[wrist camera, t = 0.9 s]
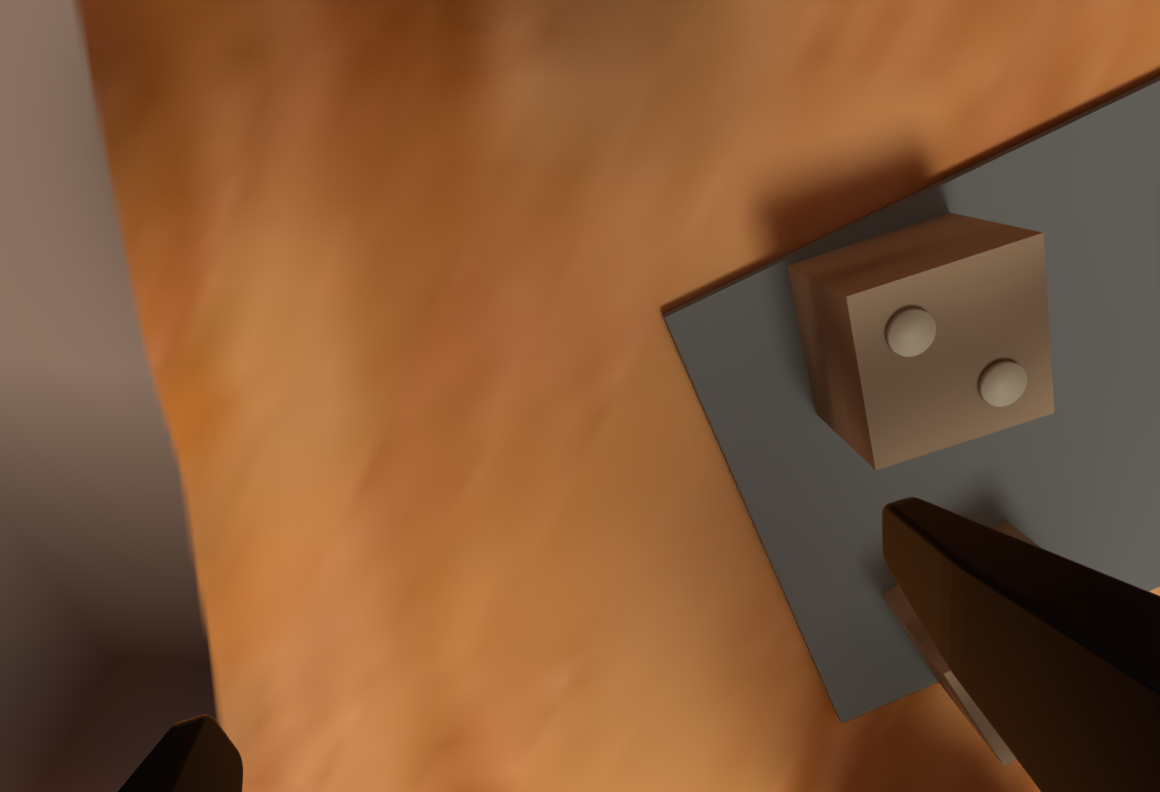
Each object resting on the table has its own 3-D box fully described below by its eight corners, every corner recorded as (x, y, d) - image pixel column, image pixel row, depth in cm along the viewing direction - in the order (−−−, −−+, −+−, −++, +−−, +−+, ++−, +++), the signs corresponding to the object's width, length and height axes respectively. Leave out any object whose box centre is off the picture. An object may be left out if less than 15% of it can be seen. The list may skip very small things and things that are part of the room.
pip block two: (966, 365, 23) (1060, 415, 19) (815, 413, 23) (879, 473, 20) (949, 212, 22) (1049, 233, 18) (786, 265, 22) (849, 298, 18)
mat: (1491, 433, 27) (1505, 437, 27) (837, 715, 29) (841, 723, 28) (1510, -93, 20) (1528, -97, 20) (662, 314, 22) (664, 317, 22)
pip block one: (1054, 611, 27) (1146, 693, 23) (937, 680, 28) (1007, 771, 24) (1005, 519, 26) (1095, 591, 22) (881, 595, 26) (947, 678, 22)
